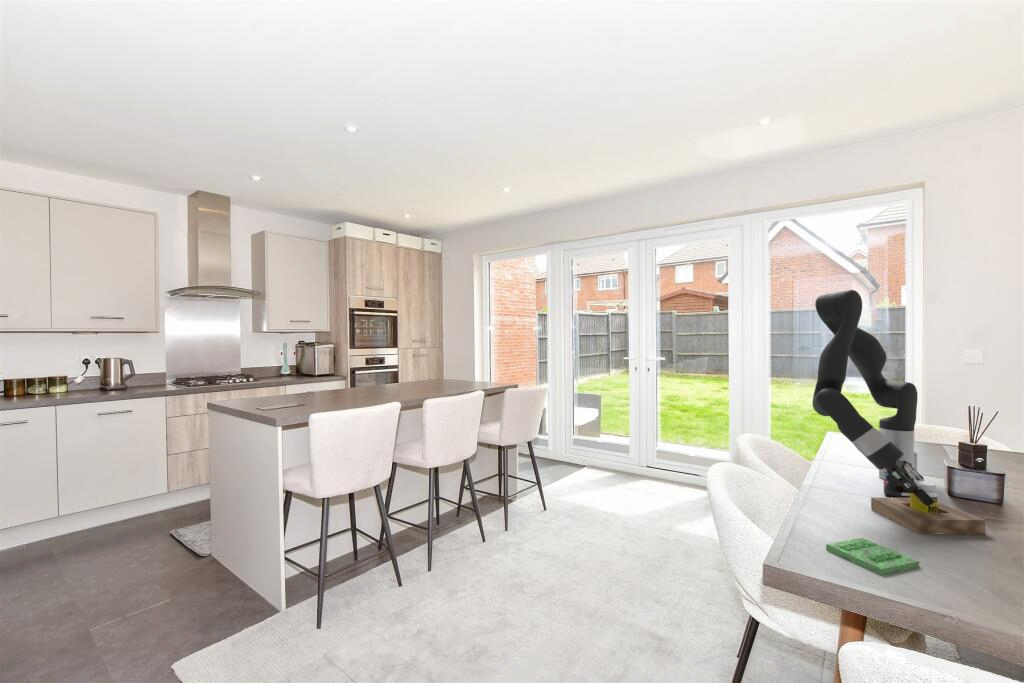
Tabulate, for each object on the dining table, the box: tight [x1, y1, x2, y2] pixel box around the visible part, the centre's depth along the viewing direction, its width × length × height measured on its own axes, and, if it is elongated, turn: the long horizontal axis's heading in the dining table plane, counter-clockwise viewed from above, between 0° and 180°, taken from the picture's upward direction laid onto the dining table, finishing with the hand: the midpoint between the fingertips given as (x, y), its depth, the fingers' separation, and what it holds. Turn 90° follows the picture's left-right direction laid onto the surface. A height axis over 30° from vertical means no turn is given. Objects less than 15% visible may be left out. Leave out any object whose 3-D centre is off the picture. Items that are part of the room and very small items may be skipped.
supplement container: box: [883, 462, 912, 498], centre depth 143 cm, size 7×7×10 cm
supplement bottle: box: [910, 480, 939, 513], centre depth 124 cm, size 6×6×10 cm
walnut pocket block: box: [870, 497, 986, 535], centre depth 124 cm, size 16×16×4 cm
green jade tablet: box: [825, 537, 920, 576], centre depth 104 cm, size 11×12×2 cm
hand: (932, 500), depth 123 cm, fingers open, 6 cm apart
